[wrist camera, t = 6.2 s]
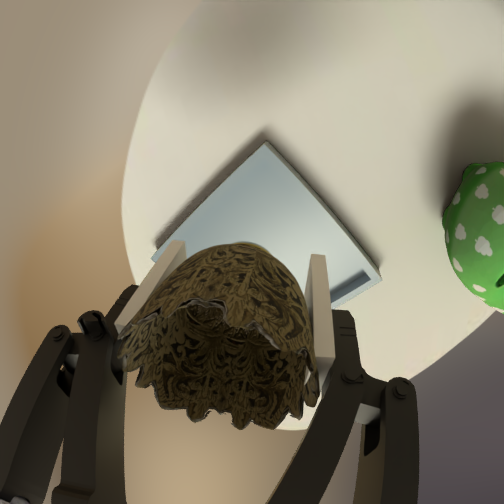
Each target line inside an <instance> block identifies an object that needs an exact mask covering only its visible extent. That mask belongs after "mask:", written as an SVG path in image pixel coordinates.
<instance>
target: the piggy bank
mask: <svg viewBox="0 0 504 504" xmlns="http://www.w3.org/2000/svg"><path fill="white" fill-rule="evenodd" d="M442 225H443V228H444V230H445V243H446V248H447V252H448V256H449V259H450V262H451V265H452V267H453V269H454V271H455V273H456V275H457V276H458V278H459V279H460V280H461V281H462V283H463V284H464V285H465V287H467V288H468V289H469V290H470V291H471V292H472V293H473V294H474V295H476V296H477V297H478V298H480V299H481V300H482V301H483V302H485V303H486V304H488V305H489V306H491V307H492V308H494V309H496V310H497V311H499V312H501V313H503V314H504V162H492V163H485V164H483V165H482V164H478V163H474V164H471V165H469V166H468V167H467V168H466V169H465V171H464V173H463V176H462V183H461V185H460V186H459V188H458V190H457V191H456V193H455V195H454V197H453V199H452V202H451V204H450V206H448V207H447V208H446V210H445V212H444V214H443V218H442Z"/></svg>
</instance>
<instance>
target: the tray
mask: <svg viewBox="0 0 504 504" xmlns="http://www.w3.org/2000/svg"><path fill="white" fill-rule="evenodd" d="M172 240H178V241H185V246H186V254H187V259H188V258H189V257H191V256H192V255H193V254H195V253H197V252H199V251H201V250H204V249H206V248H209V247H212V246H216V245H223V244H231V243H234V242H239V241H249V242H253V243H256V244H259V245H261V246H263V247H264V248H266V249H267V250H268V251H269V252H270V253H271V254H272V255H273V256H274V257H275V258H277V259H278V260H279V261H281V262H282V263H283V264H284V265H285V266H286V267H287V268H288V269H289V271H290V272H291V273H292V274H293V276H294V277H295V278H296V280H297V282H298V283H299V286H300V288H301V290H302V292H303V295H304V292H305V287H306V281H307V275H308V269H309V263H310V257H311V254H320V255H325V257H326V264H327V272H328V281H329V290H330V299H331V309H335V308H336V307H338V306H340V305H342V304H344V303H345V302H347V301H349V300H350V299H352V298H354V297H356V296H357V295H359V294H361V293H362V292H364V291H366V290H367V289H369V288H371V287H372V286H374V285H376V284H377V283H379V282H380V281H382V278H381V275H380V272H379V269H378V268H377V267H376V265H375V264H374V263H373V261H372V260H371V259H370V258H369V256H368V255H367V254H366V252H365V251H364V250H363V249H362V247H361V246H360V245H359V244H358V242H357V241H356V240H355V239H354V237H353V236H352V235H351V234H350V232H349V231H348V230H347V229H346V227H345V226H344V225H343V224H342V223H341V221H340V220H339V219H338V218H337V217H336V215H335V214H334V213H333V212H332V211H331V210H330V208H329V207H328V206H327V205H326V204H325V203H324V201H323V200H322V199H321V198H320V197H319V196H318V195H317V193H316V192H315V191H314V190H313V189H312V188H311V187H310V186H309V185H308V183H307V182H306V181H305V180H304V179H303V178H302V177H301V176H300V175H299V174H298V172H297V171H296V170H295V169H294V168H293V167H292V166H291V165H290V164H289V163H288V162H287V161H286V160H285V159H284V158H283V157H282V156H281V155H280V153H279V152H278V151H277V150H276V149H275V148H274V147H273V146H272V145H271V144H270V143H269V142H268V141H265V142H264V143H263V144H262V145H261V146H260V147H259V148H258V149H257V150H256V151H255V152H253V153H252V154H251V155H250V156H249V157H248V158H247V159H246V160H245V161H244V162H243V163H242V164H241V165H240V166H239V167H237V168H236V169H235V170H234V171H233V172H232V173H231V174H230V175H229V176H228V177H227V178H226V179H225V180H224V181H223V182H222V183H221V184H220V185H219V186H218V187H217V188H216V189H215V190H214V191H213V192H212V193H211V194H210V195H209V196H208V197H207V198H206V199H205V200H204V201H203V202H202V203H201V204H200V205H199V206H198V207H197V208H196V209H195V210H194V211H193V212H192V213H191V214H190V215H189V216H188V217H187V218H186V219H185V221H184V222H183V223H182V224H181V225H180V226H179V227H178V228H177V229H176V230H175V231H174V232H173V233H172V234H171V235H170V237H169V238H168V239H167V240H166V241H165V242H164V243H163V244H162V245H161V246H160V247H159V249H158V250H157V251H156V252H155V253H154V255H153V256H152V257H151V260H153V261H154V262H155V263H156V262H157V260H158V259H159V258H160V256H161V255H162V253H163V252H164V251H165V249H166V248H167V247H168V245H169V244H170V243H171V241H172Z"/></svg>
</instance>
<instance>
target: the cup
mask: <svg viewBox="0 0 504 504" xmlns="http://www.w3.org/2000/svg"><path fill="white" fill-rule="evenodd" d="M132 331H133V332H132ZM131 332H132V334H131ZM125 333H126V334H125ZM124 334H125V335H124ZM123 336H124V337H123ZM122 337H123V338H122ZM120 338H122V343H121V346H120V348H119V350H118V354H117V358H118V359H119V358H121V357H122V356H123V355H124V354H125V355H124V357H123V365H122V370H123V372H132V371H134V370H137V369H138V368H139V367H140V371H139V374H138V377H137V380H136V383H135V386H136V387H140V388H147V387H149V386H150V385H152V384H153V385H152V386H153V388H154V394H155V398H156V400H157V402H158V404H159V406H160V407H161V408H162V409H165V410H177V409H187V410H186V412H187V416H188V418H189V419H190V420H191V421H192V422H195V423H196V422H199V421H201V420H203V419H205V418H206V417H207V414H209V412H211V411H208V410H209V409H215V410H216V411H217V412H218V413H219V414H220V415H221V413H224V412H228V413H231V415H232V418H233V419H232V422H233V423H231V424H232V425H233V426H234V427H236V428H237V429H239V430H243V429H244V428H246V427H247V426H248V424H249V423H250V422H253V421H254V422H253V423H254V424H256V425H258V426H260V427H263V428H267V429H271V430H274V429H275V428H276V427H278V426H279V424H280V423H281V422H282V421H283V420H284V419H285V417H286V415H287V414H288V413H291V414H292V415H290V416H293V417H294V418H297V419H298V420H300V419H301V418H302V416H303V405H304V402H305V403H306V405H307V406H309V407H315V405H316V404H317V400H318V397H319V396H320V386H319V373H318V369H317V366H316V365H317V361H316V357H315V351H314V343H313V334H312V328H311V322H310V317H309V313H308V308H307V305H306V301H305V298H304V295H303V292H302V290H301V288H300V286H299V283H298V282H297V280H296V278H295V277H294V276H293V274H292V273H291V272H290V271H289V269H288V268H287V267H286V266H285V265H284V264H283V263H282V262H281V261H279V260H278V259H277V258H275V257H274V256H273V255H272V254H271V253H270V252H269V251H268V250H267V249H266V248H264V247H263V246H261V245H259V244H256V243H253V242H249V241H239V242H234V243H231V244H223V245H216V246H212V247H209V248H206V249H204V250H201V251H199V252H197V253H195V254H193V255H192V256H191V257H189V258H188V259H186V260H185V261H183V262H182V263H181V264H180V265H179V266H178V267H177V268H176V269H175V270H174V271H173V272H172V273H171V274H170V275H169V276H168V277H167V278H166V279H165V280H164V281H163V282H162V283H161V285H160V286H159V287H158V288H157V289H156V290H155V291H154V293H153V294H152V295H151V296H150V297H149V299H148V300H147V301H146V302H145V303H144V305H143V306H142V307H141V308H140V309H139V311H138V312H137V313H136V314H135V316H134V317H133V318H132V319H131V320H130V321H129V323H128V324H127V325H126V326H125V327H124V328H123V330H122V331H121V332H120V334H119V335H118V338H117V339H120ZM311 362H312V366H313V368H312V366H311V365H310V364H311ZM306 366H307V367H308V369H309V371H310V373H311V374H310V377H309V379H308V381H307V383H306V384H305V385H304V382H305V373H306ZM150 383H152V384H150ZM149 384H150V385H149ZM207 411H208V412H207ZM206 412H207V413H206ZM205 413H206V414H205ZM204 415H205V417H204ZM203 417H204V418H203ZM251 420H253V421H251Z"/></svg>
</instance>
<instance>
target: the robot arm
mask: <svg viewBox="0 0 504 504" xmlns="http://www.w3.org/2000/svg"><path fill="white" fill-rule="evenodd" d="M186 259H187V254H186V246H185V241H178V240H172V241H171V243H170V244H169V245H168V247H167V248H166V249H165V251H164V252H163V253H162V255H161V256H160V258H159V259H158V260H157V262H156V263H155V264H154V266H153V267H152V269H151V270H150V271H149V273H148V274H147V276H146V277H145V278H144V280H143V281H142V283H141V284H140V286H138V285H131V286H129V287H128V288H127V289H125V290H124V291H123V292H122V294H121V295H120V297H119V299H117V301H116V302H115V304H114V305H113V306H112V308H111V309H110V311H109V312H108V314H107V315H106V316H105V317H104V316H103V314H102V313H101V312H99V311H94V310H92V311H88V312H86V313H84V314H82V315H81V316H80V317H79V319H78V321H77V323H78V324H79V327H80V329H81V331H82V333H71V331H70V330H69V328H68V327H67V326H65V325H58V326H55V327H54V328H52V329H51V330H50V331H49V333H48V334H47V336H46V337H45V339H44V340H43V342H42V344H41V345H40V347H39V349H38V351H37V352H36V354H35V356H34V357H33V359H32V361H31V363H30V365H29V366H28V368H27V370H26V372H25V374H24V376H23V378H22V379H21V381H20V383H19V385H18V387H17V390H16V391H15V393H14V395H13V397H12V400H11V402H10V404H9V406H8V408H7V410H6V413H5V415H4V417H3V420H2V422H1V424H0V504H42V503H43V501H44V499H45V496H46V493H47V489H48V486H49V482H50V479H51V475H52V472H53V468H54V465H55V462H56V459H57V456H58V453H59V450H60V446H61V443H62V441H63V438H64V442H63V452H62V467H61V482H60V484H59V485H58V486H57V487H55V488H54V490H53V491H52V497H51V498H52V499H51V503H52V504H127V502H126V495H125V477H124V417H125V415H124V414H125V397H126V383H127V372H123V370H122V365H123V357H124V355H125V354H124V355H123V356H122V357H121V358H119V359H118V358H117V354H118V350H119V348H120V346H121V343H122V338H123V337H124V336H123V337H122V338H120V339H117V338H118V335H119V334H120V332H121V331H122V330H123V328H124V327H125V326H126V325H127V324H128V323H129V321H130V320H131V319H132V318H133V317H134V316H135V314H136V313H137V312H138V311H139V309H140V308H141V307H142V306H143V305H144V303H145V302H146V301H147V300H148V299H149V297H150V296H151V295H152V294H153V293H154V291H155V290H156V289H157V288H158V287H159V286H160V285H161V283H162V282H163V281H164V280H165V279H166V278H167V277H168V276H169V275H170V274H171V273H172V272H173V271H174V270H175V269H176V268H177V267H178V266H179V265H180V264H181V263H182V262H183V261H185V260H186ZM304 298H305V301H306V305H307V308H308V313H309V317H310V322H311V328H312V334H313V343H314V351H315V357H316V361H317V365H316V366H317V369H318V373H319V386H320V392H321V390H322V399H321V401H320V403H319V405H318V407H317V409H316V412H315V414H314V416H313V418H312V420H311V422H310V424H309V427H308V429H307V431H306V433H305V435H304V437H303V439H302V441H301V443H300V445H299V446H298V448H297V450H296V453H295V455H294V456H293V458H292V460H291V462H290V463H289V465H288V467H287V469H286V470H285V472H284V474H283V476H282V477H281V479H280V481H279V482H278V484H277V486H276V487H275V489H274V491H273V492H272V494H271V496H270V497H269V499H268V500H267V502H266V504H319V502H320V500H321V498H322V496H323V494H324V492H325V490H326V488H327V486H328V484H329V482H330V480H331V477H332V475H333V473H334V470H335V468H336V466H337V464H338V462H339V459H340V457H341V454H342V452H343V450H344V447H345V445H346V442H347V439H348V437H349V434H350V432H351V429H352V426H353V423H354V421H355V422H358V423H362V430H361V443H360V454H359V463H358V472H357V480H356V488H355V493H354V500H353V504H417V498H418V485H419V429H418V411H417V399H416V391H415V388H414V385H413V384H412V383H411V382H410V381H409V380H407V379H406V378H402V377H396V378H393V379H391V380H389V382H385V381H382V380H379V379H375V378H373V377H371V376H369V375H368V374H367V373H366V372H365V370H364V369H363V368H362V366H361V363H360V355H359V348H358V341H357V337H356V336H357V334H356V330H355V322H354V318H353V317H352V315H351V314H350V312H349V311H347V310H334V309H331V299H330V290H329V281H328V272H327V264H326V257H325V255H320V254H311V257H310V263H309V269H308V275H307V281H306V287H305V292H304ZM132 332H133V331H132ZM132 332H131V334H132ZM125 334H126V333H125ZM125 334H124V335H125ZM62 365H63V366H64V367H63V368H62V370H60V368H61V366H62ZM310 365H311V366H312V362H311V364H310ZM312 368H313V366H312ZM310 374H311V373H310V371H309V369H308V367H307V366H306V373H305V382H304V385H305V384H306V383H307V381H308V379H309V377H310Z"/></svg>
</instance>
